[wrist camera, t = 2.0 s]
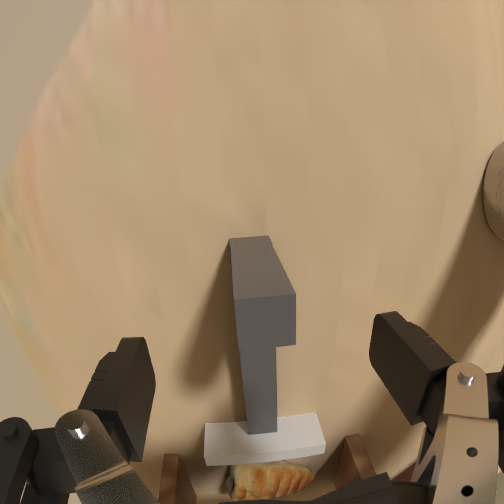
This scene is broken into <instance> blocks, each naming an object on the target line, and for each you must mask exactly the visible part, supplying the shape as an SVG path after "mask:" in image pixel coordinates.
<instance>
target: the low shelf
mask: <svg viewBox="0 0 504 504" xmlns="http://www.w3.org/2000/svg"><path fill="white" fill-rule="evenodd" d="M372 476H376V473H375V471H374V468H373V466H372V464H371V461H370V459H369V457H368V455H367V452H366V450H365V448H364V445H363V443H362V441H361V439H360V436H359V434H356V435H352V436H348V437H345V439H344V444H343V448H342V452H341V456H340V460H339V464H338V468H337V472H336V475H335V479H334V484H335V487H336V489H338V488H340V487H342V486H344V485H346V484H348V483H351V482H355V481H359V480H362V479H366V478H369V477H372ZM158 502H159V503H160V504H196V494H195V492H194V490H193V488H192V485H191V483H190V481H189V478H188V476H187V474H186V471H185V469H184V467H183V464H182V462H181V459H180V457H179V455H174V454H164V461H163V469H162V476H161V484H160V492H159V501H158Z"/></svg>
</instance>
